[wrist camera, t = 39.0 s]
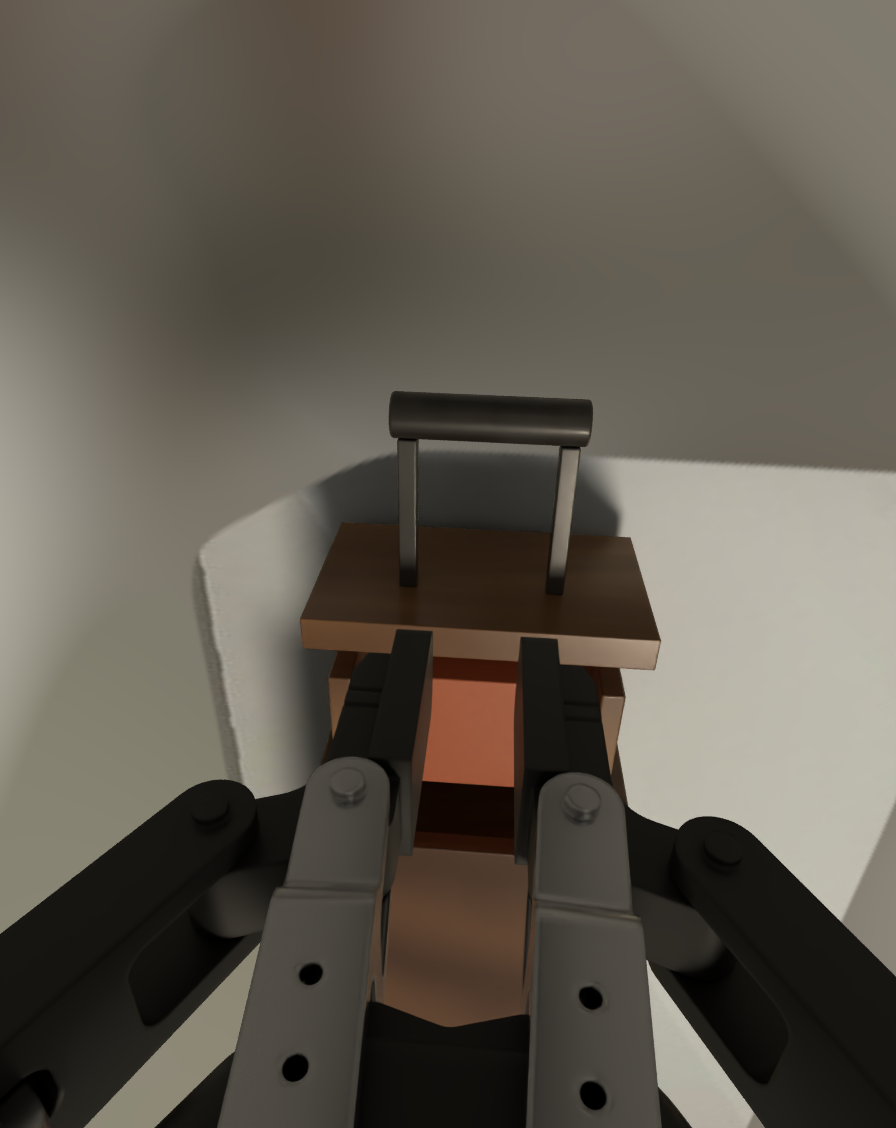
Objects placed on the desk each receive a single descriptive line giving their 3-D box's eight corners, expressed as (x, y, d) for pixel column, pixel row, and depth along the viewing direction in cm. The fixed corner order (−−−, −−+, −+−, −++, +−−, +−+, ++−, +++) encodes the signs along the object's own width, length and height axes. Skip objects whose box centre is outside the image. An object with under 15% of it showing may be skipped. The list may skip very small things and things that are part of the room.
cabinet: (342, 688, 35) (297, 838, 28) (611, 706, 34) (639, 864, 27) (355, 886, 42) (322, 1046, 35) (576, 904, 42) (590, 1070, 34)
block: (418, 597, 30) (402, 676, 25) (543, 604, 29) (549, 685, 25) (418, 693, 32) (404, 780, 28) (533, 700, 32) (537, 789, 28)
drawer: (331, 351, 26) (279, 415, 20) (659, 365, 25) (704, 435, 20) (355, 766, 36) (325, 889, 30) (589, 783, 36) (604, 911, 30)
